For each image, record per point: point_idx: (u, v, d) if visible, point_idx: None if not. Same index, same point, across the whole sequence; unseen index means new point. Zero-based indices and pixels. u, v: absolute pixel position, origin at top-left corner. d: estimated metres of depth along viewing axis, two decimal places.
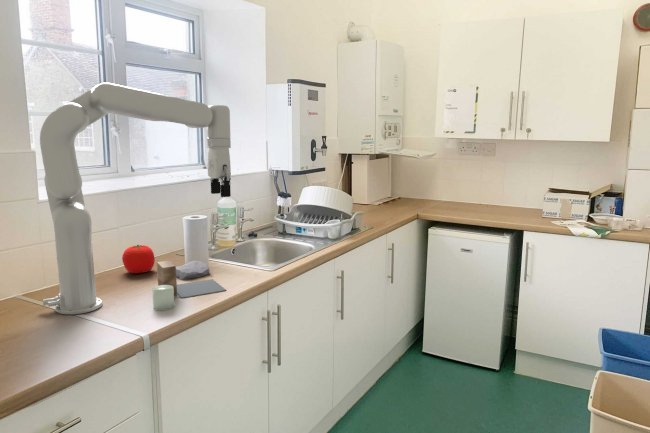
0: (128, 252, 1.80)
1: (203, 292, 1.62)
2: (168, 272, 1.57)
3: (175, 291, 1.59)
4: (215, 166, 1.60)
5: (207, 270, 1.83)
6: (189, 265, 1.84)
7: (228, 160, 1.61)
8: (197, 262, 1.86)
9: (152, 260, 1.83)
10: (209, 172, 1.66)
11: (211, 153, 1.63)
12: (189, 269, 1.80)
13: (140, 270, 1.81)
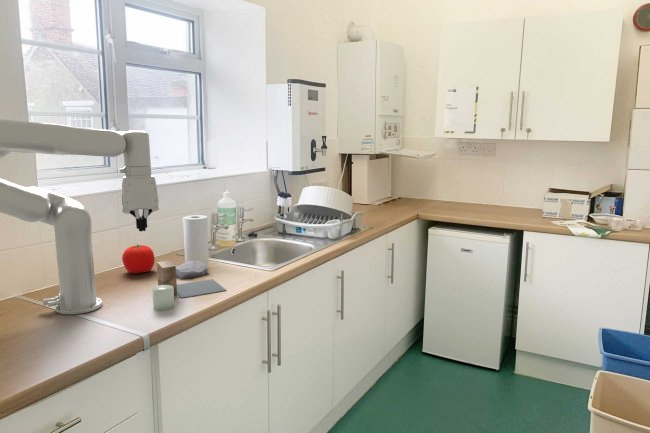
0: (128, 252, 1.80)
1: (203, 292, 1.62)
2: (168, 272, 1.57)
3: (175, 291, 1.59)
4: (153, 195, 1.53)
5: (205, 269, 1.84)
6: (187, 264, 1.84)
7: None
8: (195, 261, 1.87)
9: (152, 260, 1.83)
10: (133, 204, 1.50)
11: (140, 182, 1.50)
12: (187, 268, 1.81)
13: (140, 270, 1.81)
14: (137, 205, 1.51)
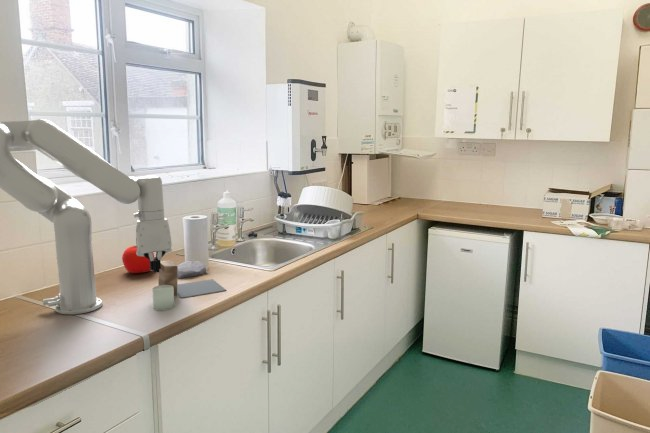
0: (128, 252, 1.80)
1: (203, 292, 1.62)
2: (170, 271, 1.58)
3: (175, 291, 1.59)
4: (166, 237, 1.57)
5: (204, 269, 1.85)
6: (186, 264, 1.85)
7: None
8: (194, 261, 1.87)
9: None
10: (147, 247, 1.54)
11: (154, 226, 1.54)
12: (186, 268, 1.81)
13: (140, 270, 1.81)
14: (151, 248, 1.55)
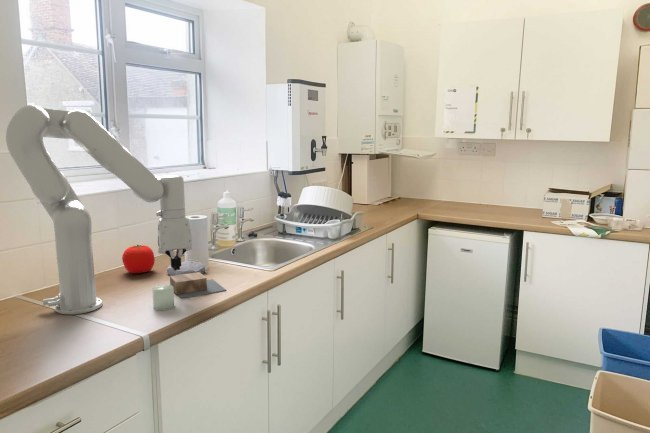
0: (128, 252, 1.80)
1: (203, 292, 1.62)
2: (201, 283, 1.64)
3: (181, 292, 1.61)
4: (187, 236, 1.60)
5: (203, 269, 1.85)
6: (185, 264, 1.85)
7: None
8: (193, 261, 1.88)
9: (152, 260, 1.83)
10: (169, 245, 1.57)
11: (175, 224, 1.57)
12: (185, 268, 1.82)
13: (140, 270, 1.81)
14: (172, 246, 1.58)
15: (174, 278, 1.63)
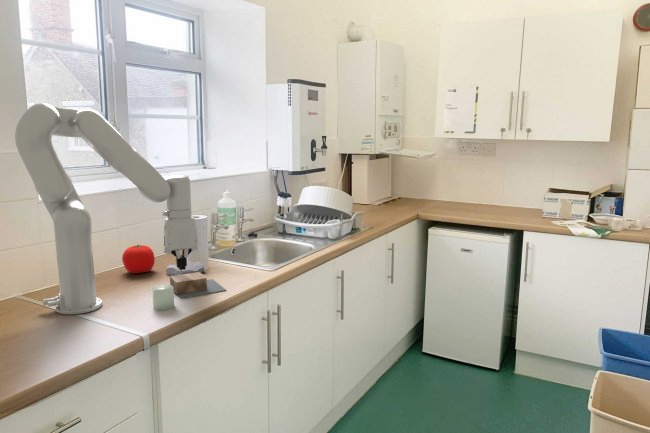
0: (128, 252, 1.80)
1: (203, 292, 1.62)
2: (201, 283, 1.64)
3: (181, 292, 1.61)
4: (193, 236, 1.61)
5: (202, 268, 1.85)
6: None
7: None
8: None
9: (152, 260, 1.83)
10: (175, 245, 1.58)
11: (182, 224, 1.58)
12: None
13: (140, 270, 1.81)
14: (178, 246, 1.59)
15: (174, 278, 1.63)
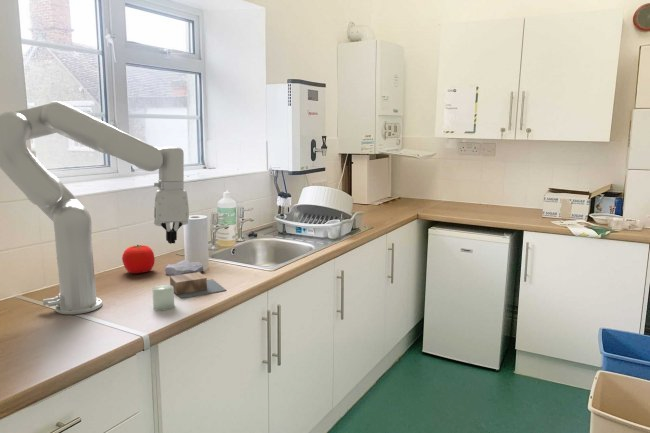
0: (128, 252, 1.80)
1: (203, 292, 1.62)
2: (201, 283, 1.64)
3: (181, 292, 1.61)
4: (184, 209, 1.58)
5: (201, 268, 1.86)
6: (183, 263, 1.86)
7: None
8: None
9: (152, 260, 1.83)
10: (165, 217, 1.55)
11: (173, 196, 1.56)
12: (183, 267, 1.83)
13: (140, 270, 1.81)
14: (169, 218, 1.56)
15: (174, 278, 1.63)
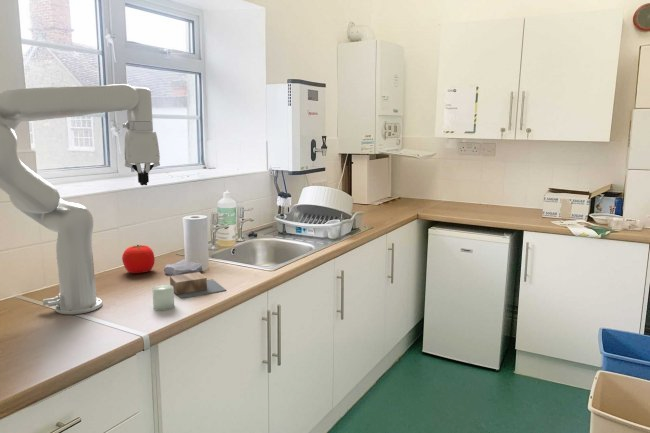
0: (128, 252, 1.80)
1: (203, 292, 1.62)
2: (201, 283, 1.64)
3: (181, 292, 1.61)
4: (155, 150, 1.59)
5: (200, 268, 1.86)
6: (182, 263, 1.87)
7: None
8: None
9: (152, 260, 1.83)
10: (136, 158, 1.56)
11: (142, 137, 1.56)
12: (182, 267, 1.83)
13: (140, 270, 1.81)
14: (139, 159, 1.56)
15: (174, 278, 1.63)
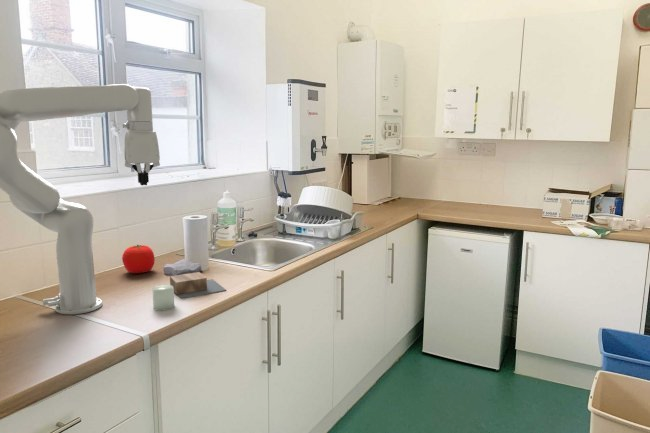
0: (128, 252, 1.80)
1: (203, 292, 1.62)
2: (201, 283, 1.64)
3: (181, 292, 1.61)
4: (155, 150, 1.59)
5: (199, 267, 1.87)
6: (181, 263, 1.87)
7: None
8: None
9: (152, 260, 1.83)
10: (135, 158, 1.56)
11: (142, 137, 1.56)
12: (181, 267, 1.83)
13: (140, 270, 1.81)
14: (139, 159, 1.56)
15: (174, 278, 1.63)
